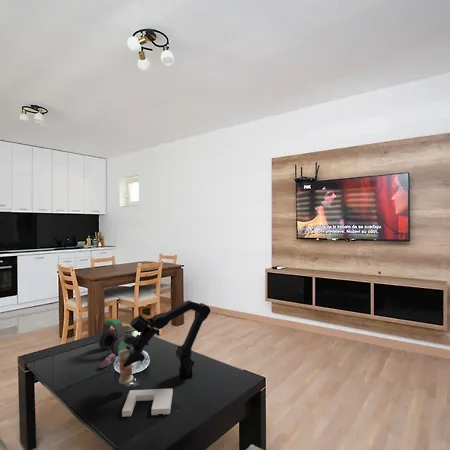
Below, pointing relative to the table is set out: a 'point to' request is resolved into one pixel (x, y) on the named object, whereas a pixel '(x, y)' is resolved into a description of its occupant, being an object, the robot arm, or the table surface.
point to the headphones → (112, 336)
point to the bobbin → (125, 371)
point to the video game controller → (107, 360)
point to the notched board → (158, 395)
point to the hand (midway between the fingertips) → (122, 364)
